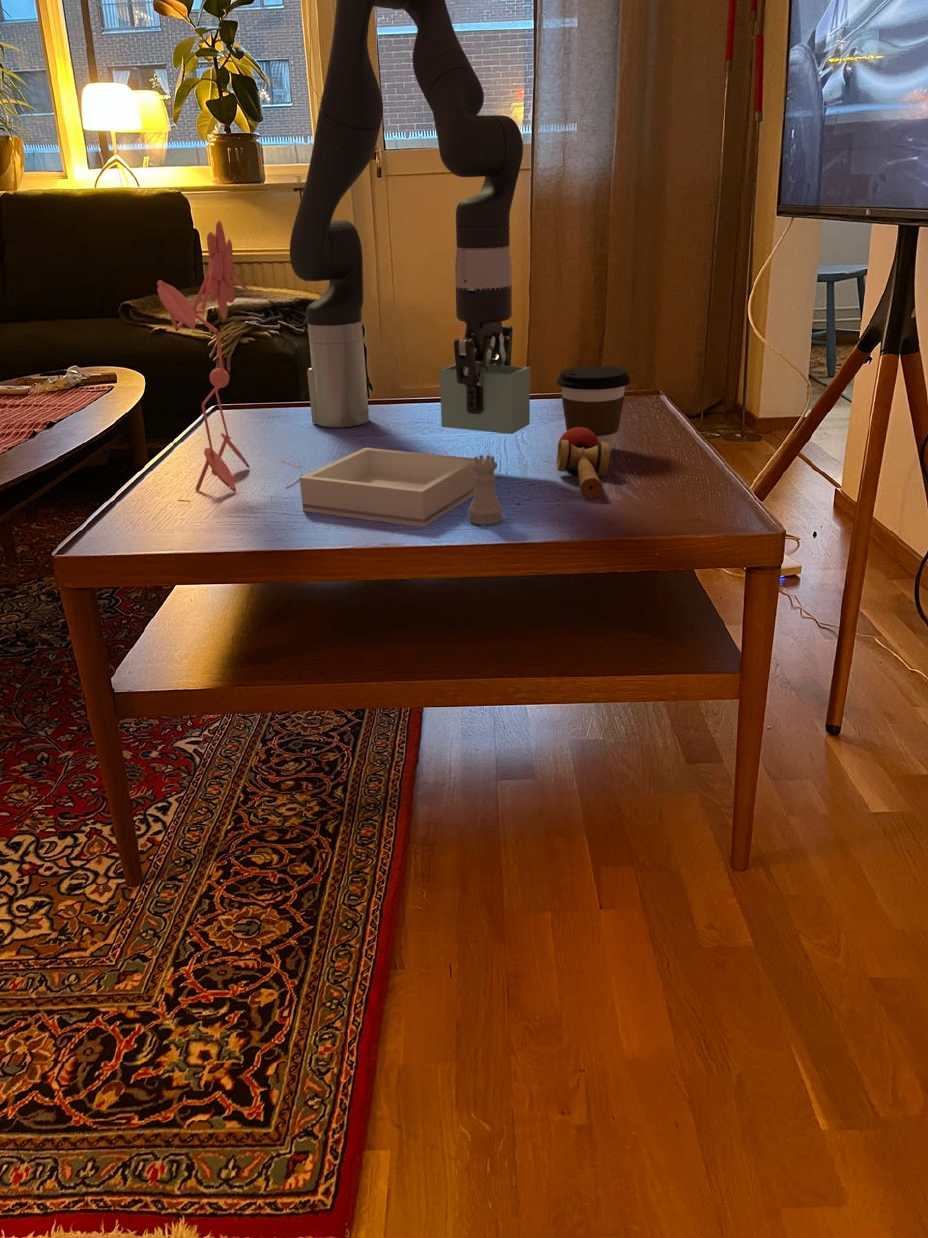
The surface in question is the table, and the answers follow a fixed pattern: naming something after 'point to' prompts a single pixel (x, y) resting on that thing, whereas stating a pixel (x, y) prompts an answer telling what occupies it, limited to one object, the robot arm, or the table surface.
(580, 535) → the table surface
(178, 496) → the table surface
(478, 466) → the rook chess piece
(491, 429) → the teal tote
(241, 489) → the table surface
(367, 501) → the beige tray
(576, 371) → the coffee cup
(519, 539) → the table surface
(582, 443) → the kendama
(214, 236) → the pink thin branched figure
